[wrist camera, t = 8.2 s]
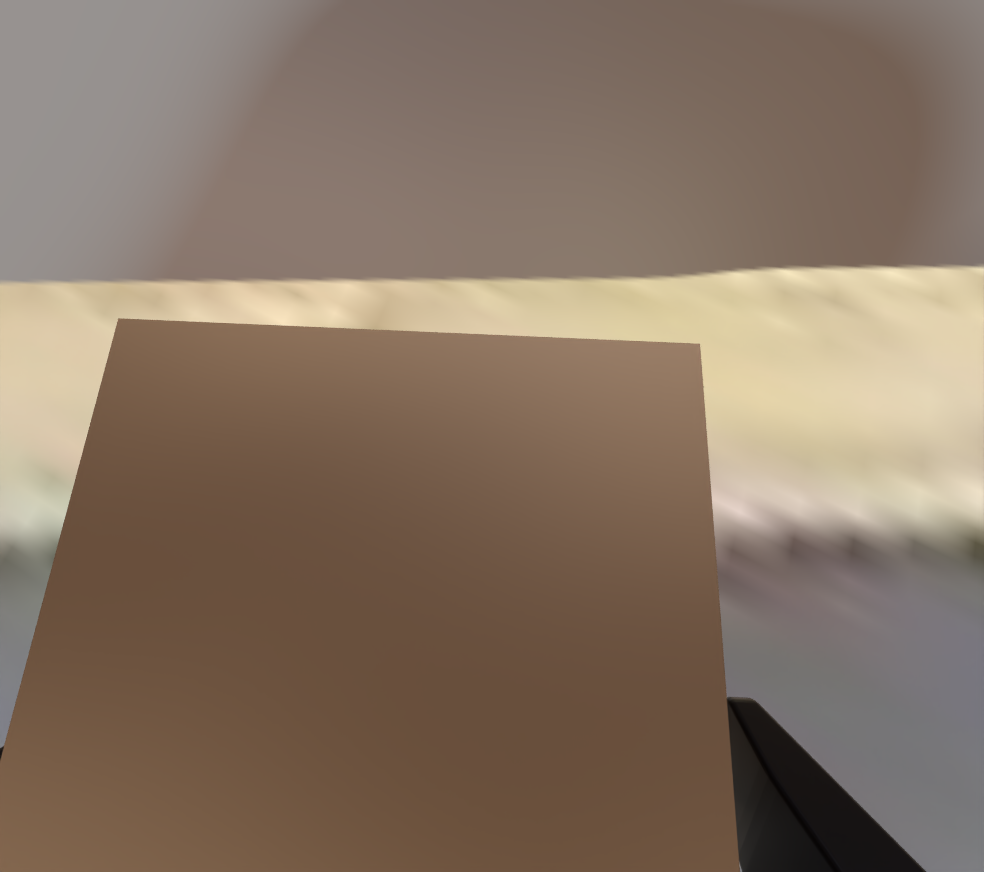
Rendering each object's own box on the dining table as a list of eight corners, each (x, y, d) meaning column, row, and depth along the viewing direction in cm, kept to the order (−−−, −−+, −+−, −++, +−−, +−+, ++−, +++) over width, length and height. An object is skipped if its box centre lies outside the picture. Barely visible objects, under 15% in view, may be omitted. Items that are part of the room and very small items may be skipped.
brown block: (540, 725, 17) (756, 1099, 4) (365, 718, 17) (-82, 1064, 4) (542, 549, 18) (698, 344, 5) (382, 542, 18) (118, 318, 5)
